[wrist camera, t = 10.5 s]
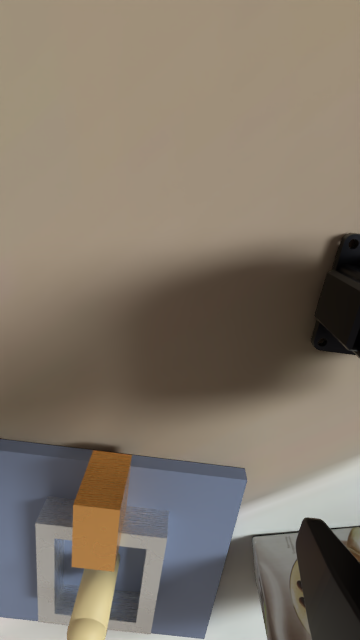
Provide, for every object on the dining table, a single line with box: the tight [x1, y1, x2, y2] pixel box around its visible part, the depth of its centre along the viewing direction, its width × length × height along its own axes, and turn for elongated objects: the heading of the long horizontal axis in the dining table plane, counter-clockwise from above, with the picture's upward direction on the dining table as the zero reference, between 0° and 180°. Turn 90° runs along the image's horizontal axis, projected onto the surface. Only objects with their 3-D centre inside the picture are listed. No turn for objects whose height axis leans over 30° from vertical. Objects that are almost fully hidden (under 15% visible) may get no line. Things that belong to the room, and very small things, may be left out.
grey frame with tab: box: [35, 450, 169, 634], centre depth 22 cm, size 15×8×4 cm, turn 172°
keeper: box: [0, 439, 247, 640], centre depth 23 cm, size 18×18×7 cm
